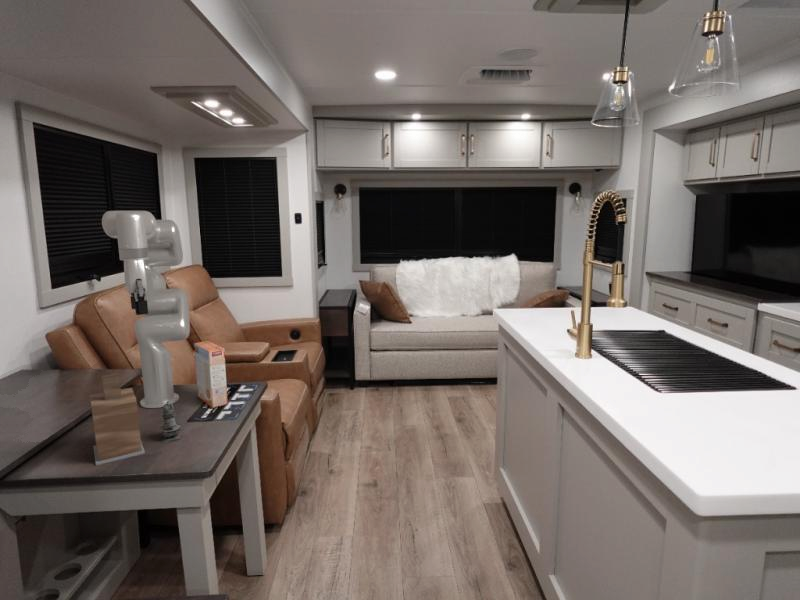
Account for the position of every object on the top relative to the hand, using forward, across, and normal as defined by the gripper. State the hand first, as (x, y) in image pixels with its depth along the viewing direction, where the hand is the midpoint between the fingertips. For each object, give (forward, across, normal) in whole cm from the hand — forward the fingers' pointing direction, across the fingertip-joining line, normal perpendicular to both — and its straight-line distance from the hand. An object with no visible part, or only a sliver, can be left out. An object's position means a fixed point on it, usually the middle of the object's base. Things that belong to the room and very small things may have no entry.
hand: (139, 311), depth 149 cm
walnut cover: (+38, +9, -10) cm, 40 cm away
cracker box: (+38, -14, +22) cm, 46 cm away
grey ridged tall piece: (+38, +9, +4) cm, 40 cm away
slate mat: (+38, +9, -10) cm, 41 cm away
